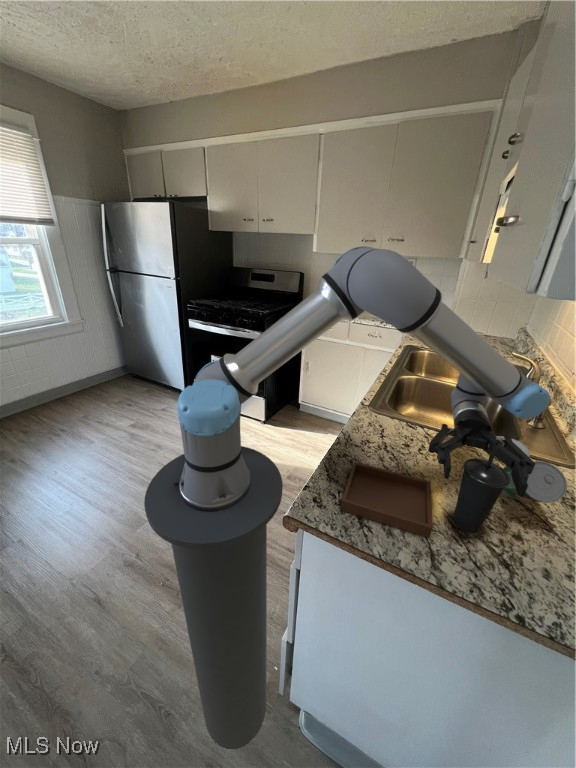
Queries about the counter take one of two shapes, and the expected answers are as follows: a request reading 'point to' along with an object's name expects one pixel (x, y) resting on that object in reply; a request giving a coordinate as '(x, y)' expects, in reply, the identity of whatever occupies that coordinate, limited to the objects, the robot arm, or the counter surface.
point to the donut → (520, 446)
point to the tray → (389, 498)
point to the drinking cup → (479, 491)
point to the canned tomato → (540, 484)
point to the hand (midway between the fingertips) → (484, 481)
